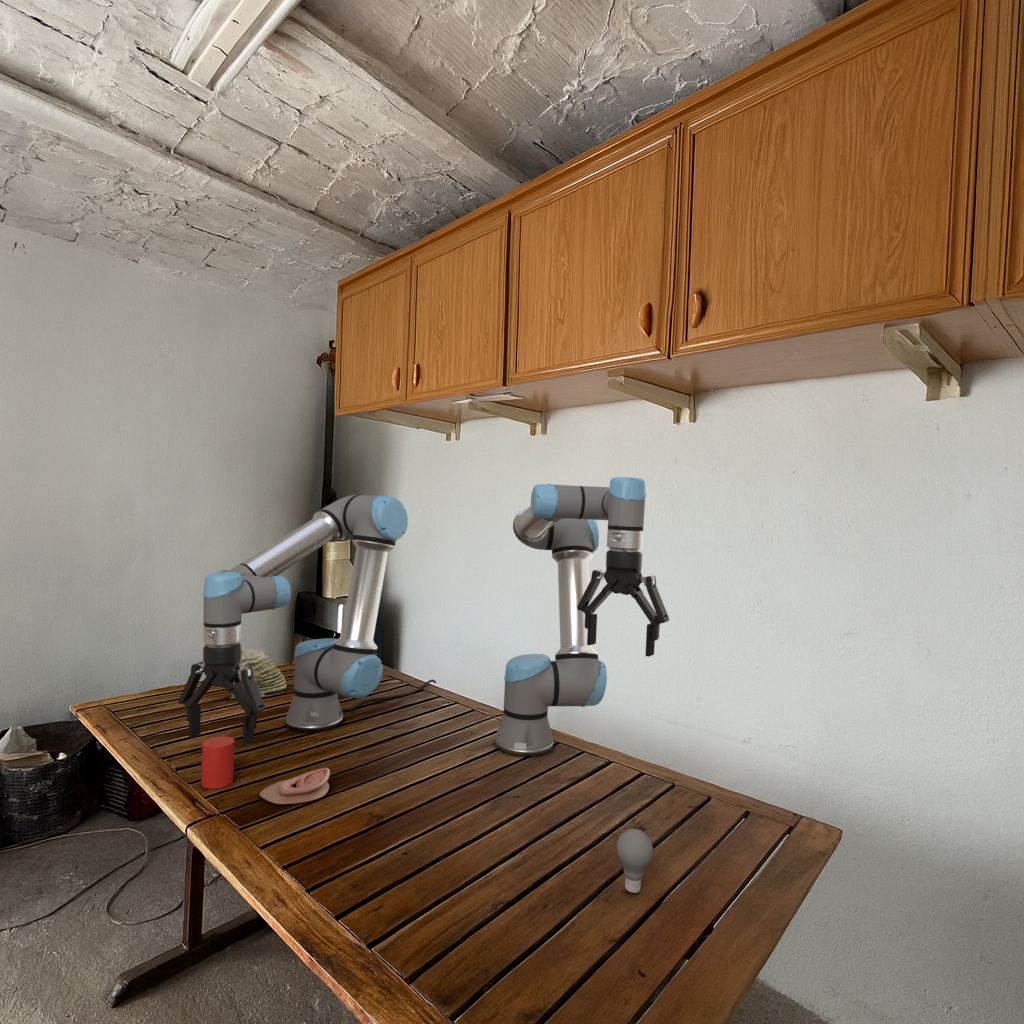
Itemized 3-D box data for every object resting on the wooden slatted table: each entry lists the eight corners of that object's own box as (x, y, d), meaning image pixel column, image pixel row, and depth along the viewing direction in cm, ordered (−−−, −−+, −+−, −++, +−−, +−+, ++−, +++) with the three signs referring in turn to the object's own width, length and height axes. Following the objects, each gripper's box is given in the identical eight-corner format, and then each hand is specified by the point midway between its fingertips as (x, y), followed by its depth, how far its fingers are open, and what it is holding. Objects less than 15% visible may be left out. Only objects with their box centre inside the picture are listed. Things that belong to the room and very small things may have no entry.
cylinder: (238, 777, 141) (240, 737, 141) (222, 790, 135) (224, 748, 135) (212, 774, 142) (213, 735, 142) (194, 787, 136) (196, 746, 135)
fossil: (218, 695, 195) (220, 647, 195) (278, 685, 208) (279, 640, 207) (228, 703, 189) (230, 653, 188) (289, 692, 201) (290, 645, 201)
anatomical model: (251, 781, 130) (282, 759, 142) (250, 800, 131) (281, 776, 142) (310, 789, 128) (337, 767, 139) (309, 809, 128) (336, 784, 139)
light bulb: (610, 879, 108) (613, 822, 108) (644, 879, 109) (647, 822, 109) (619, 902, 102) (622, 840, 102) (655, 901, 103) (658, 840, 103)
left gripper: (160, 642, 137) (160, 739, 138) (261, 653, 131) (260, 754, 132) (186, 635, 144) (185, 726, 145) (283, 644, 139) (281, 740, 139)
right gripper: (564, 546, 138) (560, 642, 139) (674, 556, 124) (669, 663, 124) (581, 545, 145) (577, 637, 145) (687, 554, 130) (682, 657, 131)
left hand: (221, 740), depth 139 cm, fingers open, 13 cm apart
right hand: (619, 649), depth 135 cm, fingers open, 13 cm apart
